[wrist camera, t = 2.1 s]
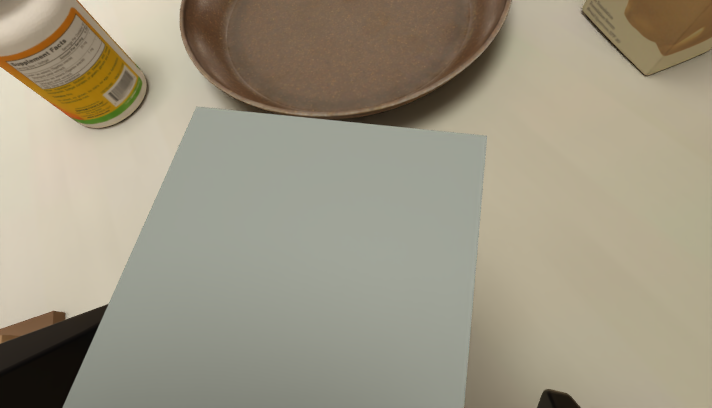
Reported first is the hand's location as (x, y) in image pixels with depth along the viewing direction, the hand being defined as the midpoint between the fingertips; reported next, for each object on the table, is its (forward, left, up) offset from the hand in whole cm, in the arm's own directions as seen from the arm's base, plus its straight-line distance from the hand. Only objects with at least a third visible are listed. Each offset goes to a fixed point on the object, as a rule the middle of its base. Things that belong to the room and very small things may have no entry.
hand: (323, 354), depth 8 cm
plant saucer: (+21, -5, -10) cm, 24 cm away
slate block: (+1, 0, -9) cm, 9 cm away
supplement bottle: (+21, +12, -10) cm, 26 cm away
